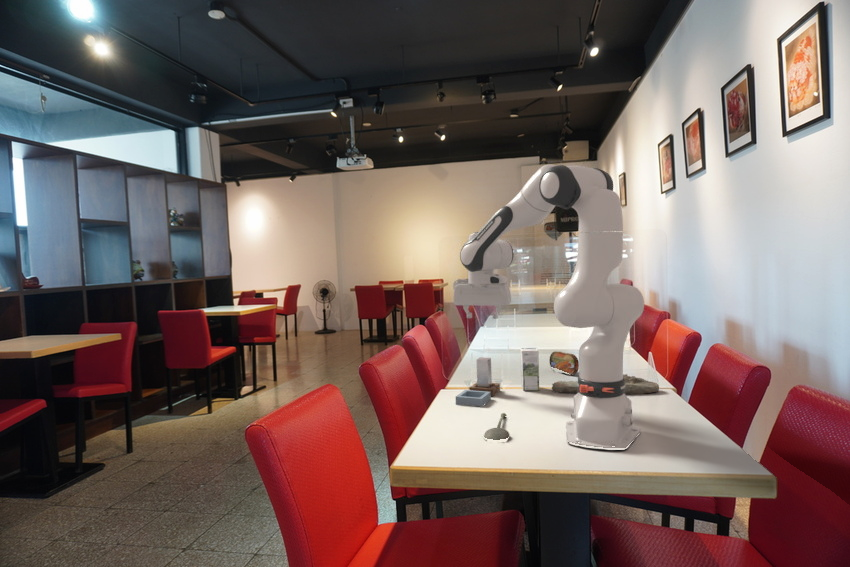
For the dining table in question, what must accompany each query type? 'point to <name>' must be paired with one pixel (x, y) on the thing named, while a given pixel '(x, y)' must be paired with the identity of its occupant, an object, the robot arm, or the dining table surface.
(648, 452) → the dining table surface
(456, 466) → the dining table surface
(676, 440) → the dining table surface
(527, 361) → the syrup box
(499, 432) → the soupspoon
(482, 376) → the steel peg
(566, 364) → the tin
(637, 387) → the elongated rock
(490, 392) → the pair of square sockets
